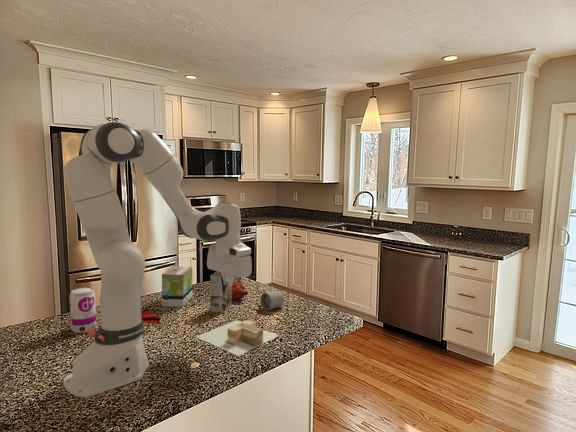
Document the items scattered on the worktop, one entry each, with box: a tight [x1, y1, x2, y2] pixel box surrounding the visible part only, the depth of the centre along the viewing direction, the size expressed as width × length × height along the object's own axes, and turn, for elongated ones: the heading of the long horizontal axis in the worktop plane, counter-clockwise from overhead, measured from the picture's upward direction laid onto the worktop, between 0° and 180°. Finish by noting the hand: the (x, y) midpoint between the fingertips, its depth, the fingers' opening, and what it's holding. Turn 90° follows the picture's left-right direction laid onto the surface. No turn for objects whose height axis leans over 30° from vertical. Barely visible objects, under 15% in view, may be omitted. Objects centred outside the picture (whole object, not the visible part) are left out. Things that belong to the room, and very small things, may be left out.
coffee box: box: [209, 271, 232, 313], centre depth 161 cm, size 9×6×16 cm
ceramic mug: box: [259, 290, 285, 311], centre depth 165 cm, size 11×8×8 cm
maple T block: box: [228, 319, 264, 347], centre depth 131 cm, size 11×10×4 cm
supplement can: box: [68, 287, 97, 334], centre depth 139 cm, size 8×8×15 cm
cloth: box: [141, 309, 162, 325], centre depth 153 cm, size 26×14×2 cm, turn 39°
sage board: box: [195, 320, 280, 357], centre depth 134 cm, size 20×22×1 cm
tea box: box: [161, 266, 193, 308], centre depth 171 cm, size 15×10×15 cm
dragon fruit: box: [231, 281, 248, 302], centre depth 176 cm, size 8×8×12 cm
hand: (228, 285), depth 135 cm, fingers closed
